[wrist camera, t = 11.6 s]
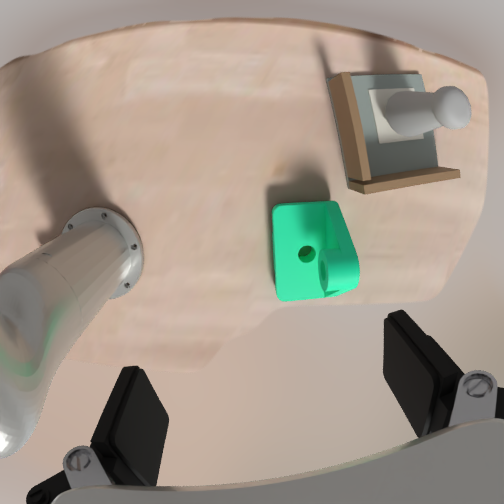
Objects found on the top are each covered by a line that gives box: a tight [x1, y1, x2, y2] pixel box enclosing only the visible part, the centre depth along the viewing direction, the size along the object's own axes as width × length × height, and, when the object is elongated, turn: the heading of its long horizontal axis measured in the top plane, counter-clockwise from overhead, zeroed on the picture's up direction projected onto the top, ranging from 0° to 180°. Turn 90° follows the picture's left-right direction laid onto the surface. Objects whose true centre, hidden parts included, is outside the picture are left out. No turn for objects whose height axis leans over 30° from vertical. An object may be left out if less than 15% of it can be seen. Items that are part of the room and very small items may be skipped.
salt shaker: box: [384, 86, 471, 137], centre depth 27 cm, size 6×6×13 cm
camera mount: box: [272, 201, 360, 301], centre depth 35 cm, size 12×8×10 cm, turn 4°
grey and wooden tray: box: [326, 72, 460, 194], centre depth 32 cm, size 14×14×6 cm
